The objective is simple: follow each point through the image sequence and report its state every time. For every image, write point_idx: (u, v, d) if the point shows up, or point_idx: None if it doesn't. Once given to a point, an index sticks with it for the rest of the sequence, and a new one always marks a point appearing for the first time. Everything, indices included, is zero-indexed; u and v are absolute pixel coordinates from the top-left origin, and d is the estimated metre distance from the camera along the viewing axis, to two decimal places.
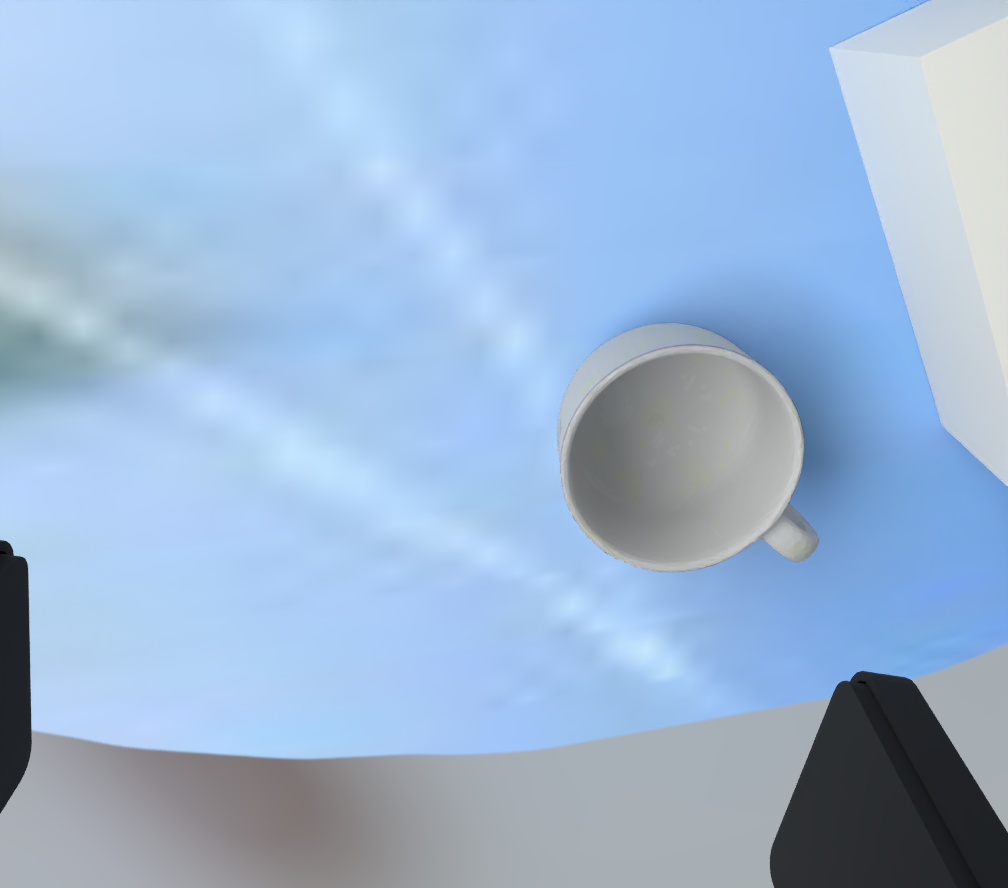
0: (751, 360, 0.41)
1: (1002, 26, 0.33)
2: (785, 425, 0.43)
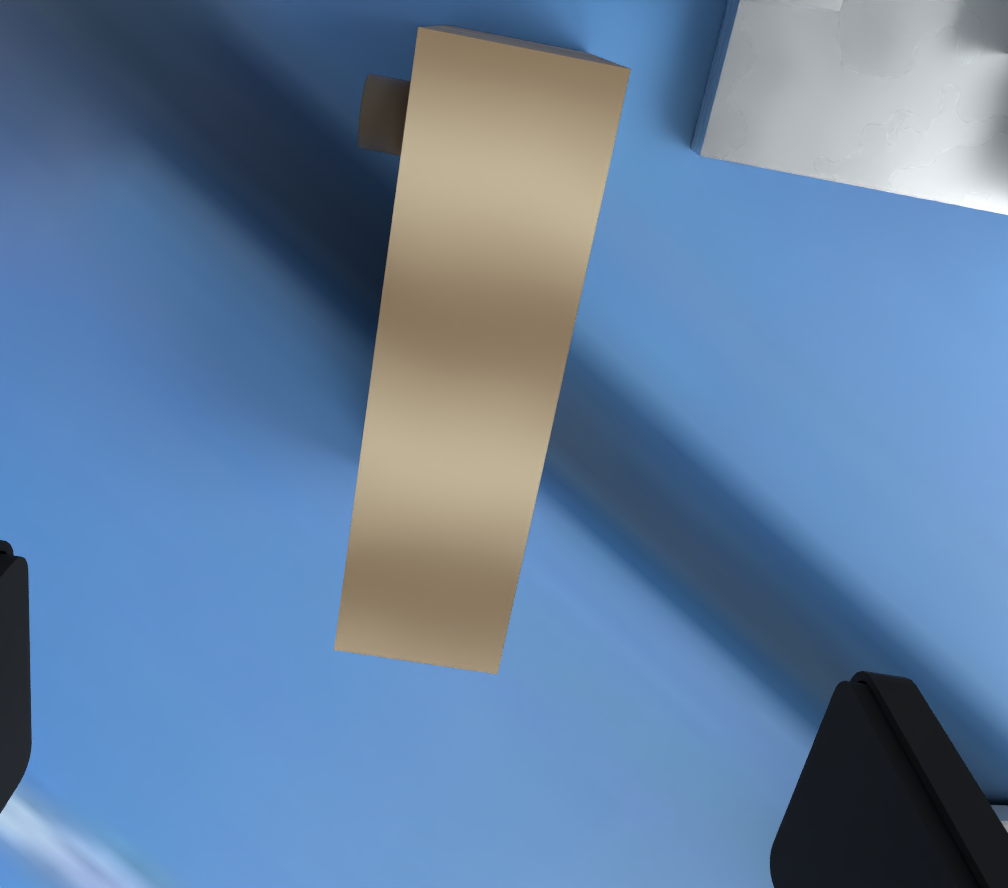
0: None
1: None
2: None
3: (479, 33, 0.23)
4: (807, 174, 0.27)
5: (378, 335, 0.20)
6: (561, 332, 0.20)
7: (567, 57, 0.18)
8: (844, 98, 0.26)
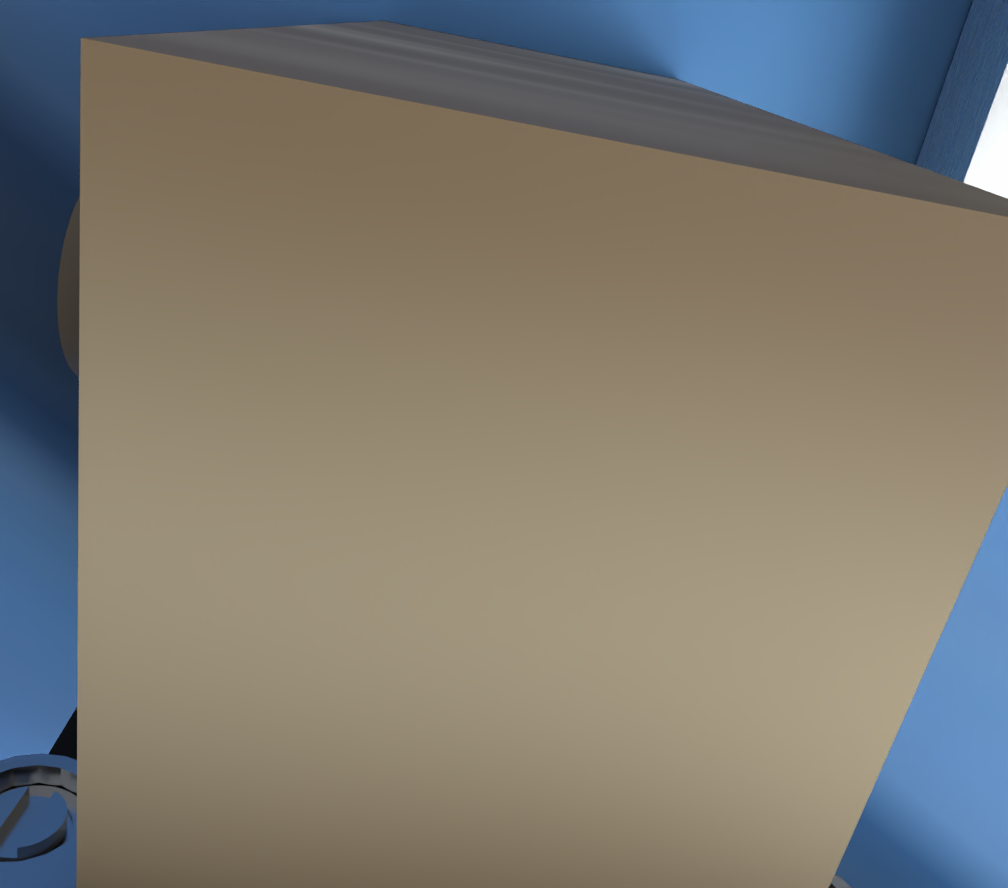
0: None
1: None
2: None
3: (443, 43, 0.09)
4: None
5: None
6: None
7: (820, 184, 0.04)
8: None
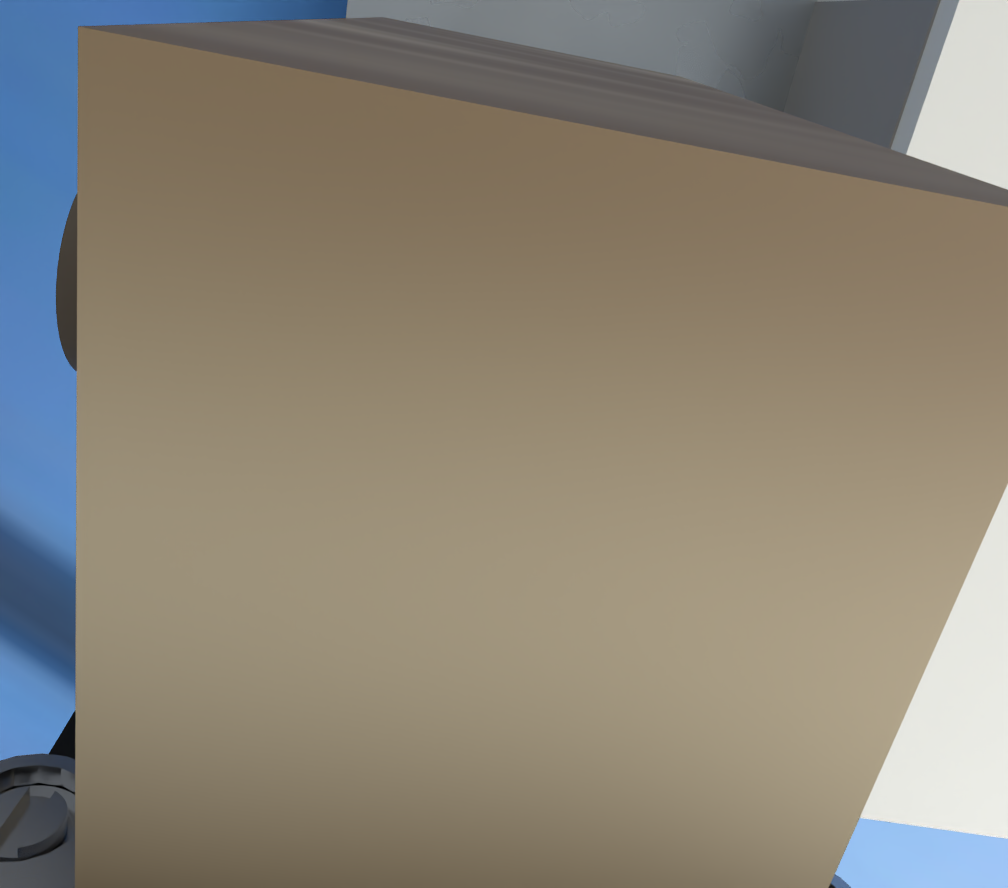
0: None
1: (914, 818, 0.25)
2: None
3: (444, 39, 0.09)
4: None
5: None
6: None
7: (822, 175, 0.04)
8: None
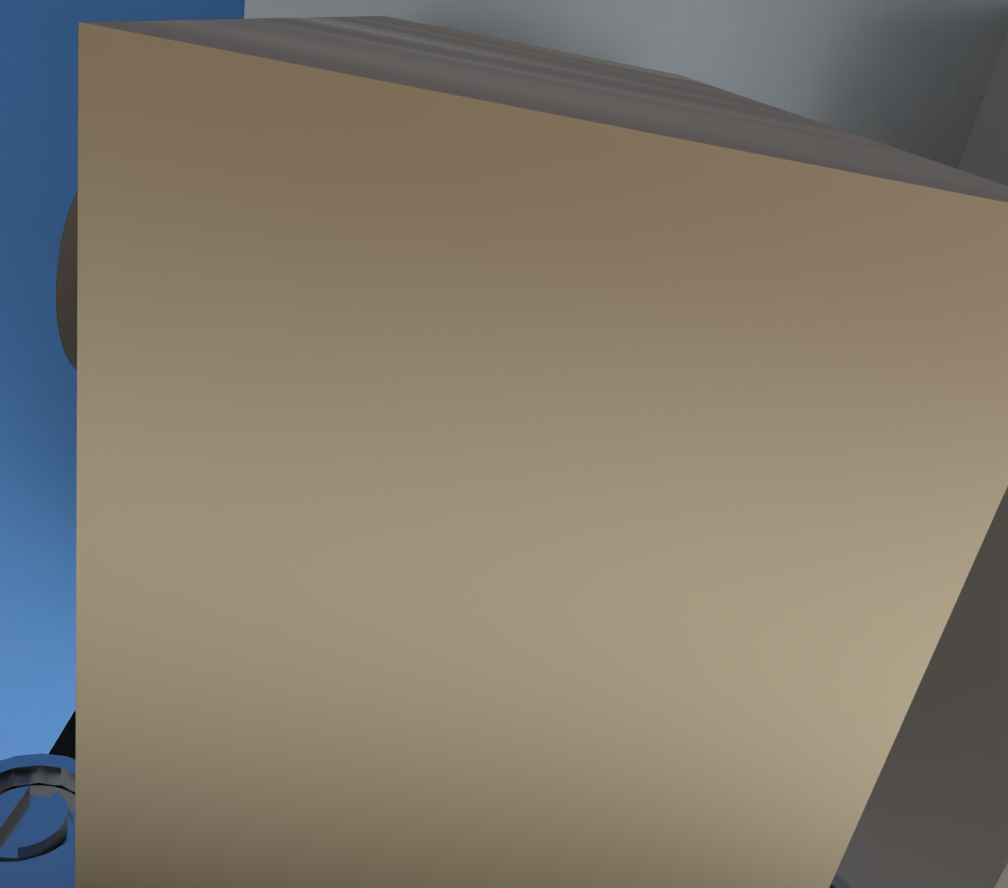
0: None
1: None
2: None
3: (444, 37, 0.09)
4: None
5: None
6: None
7: (824, 171, 0.04)
8: None
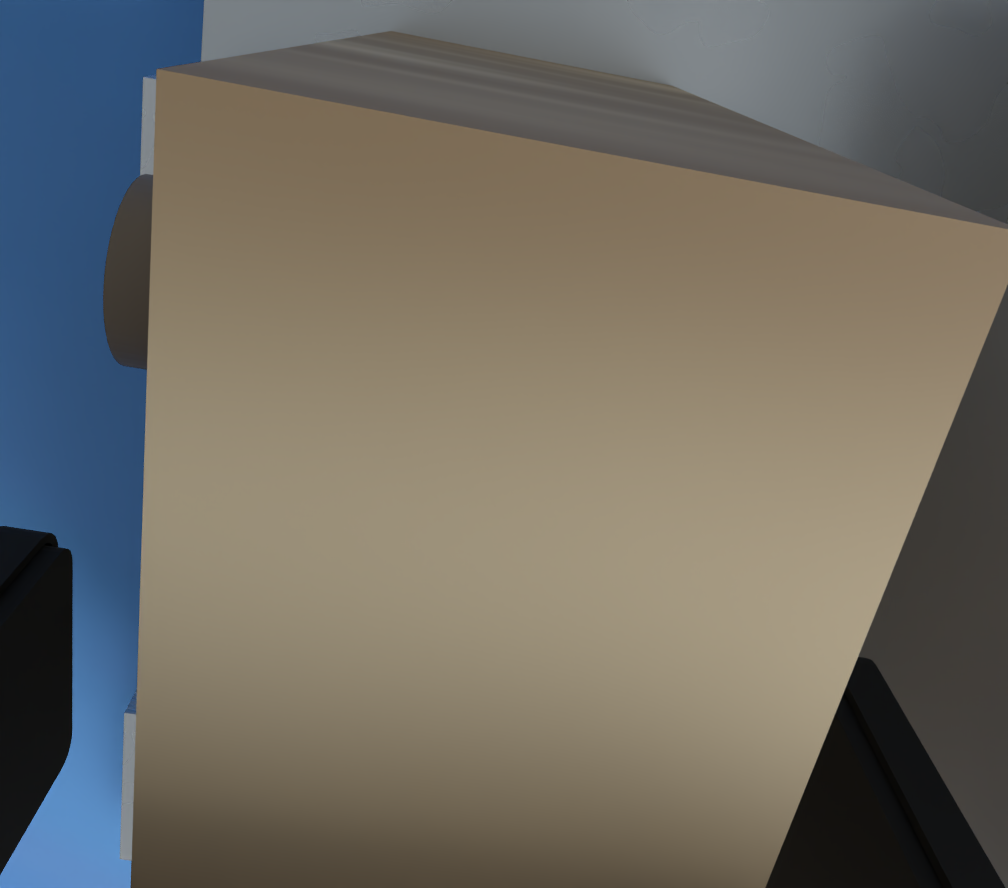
0: None
1: None
2: None
3: (450, 55, 0.10)
4: None
5: None
6: None
7: (776, 188, 0.04)
8: None
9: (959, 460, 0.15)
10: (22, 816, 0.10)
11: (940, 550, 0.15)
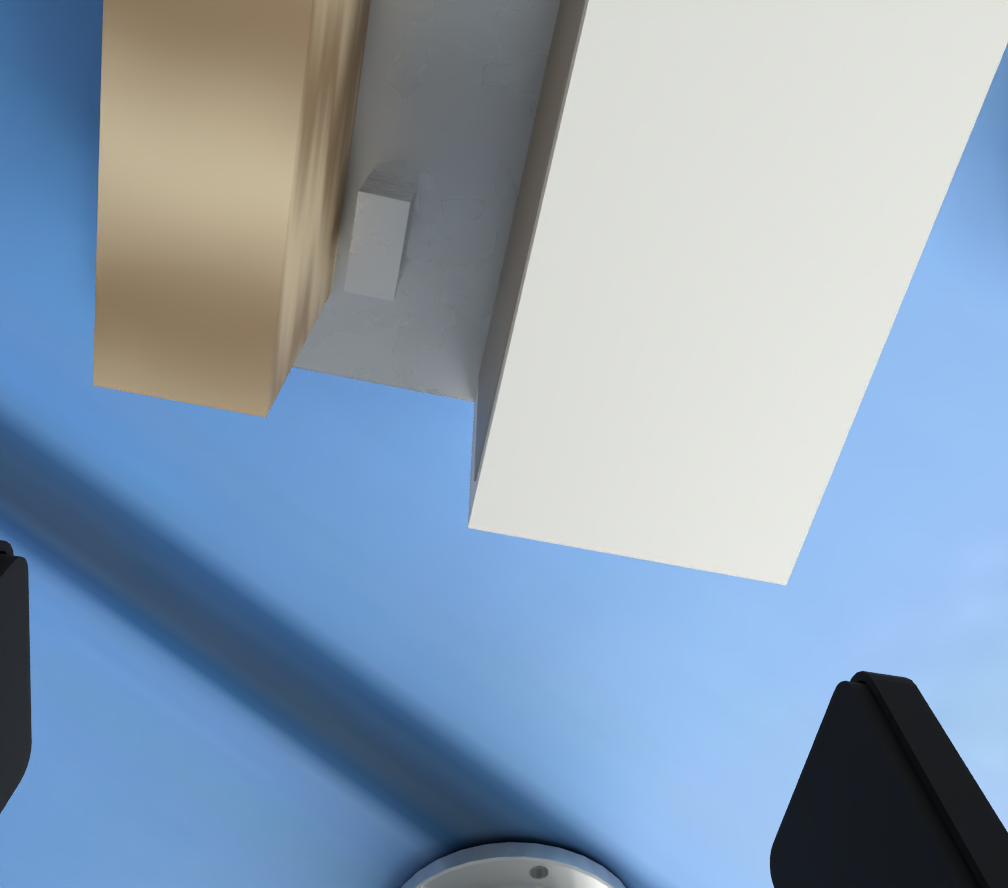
0: None
1: (690, 559, 0.26)
2: None
3: None
4: None
5: (104, 16, 0.19)
6: (298, 18, 0.19)
7: None
8: None
9: (559, 18, 0.27)
10: None
11: (550, 70, 0.27)
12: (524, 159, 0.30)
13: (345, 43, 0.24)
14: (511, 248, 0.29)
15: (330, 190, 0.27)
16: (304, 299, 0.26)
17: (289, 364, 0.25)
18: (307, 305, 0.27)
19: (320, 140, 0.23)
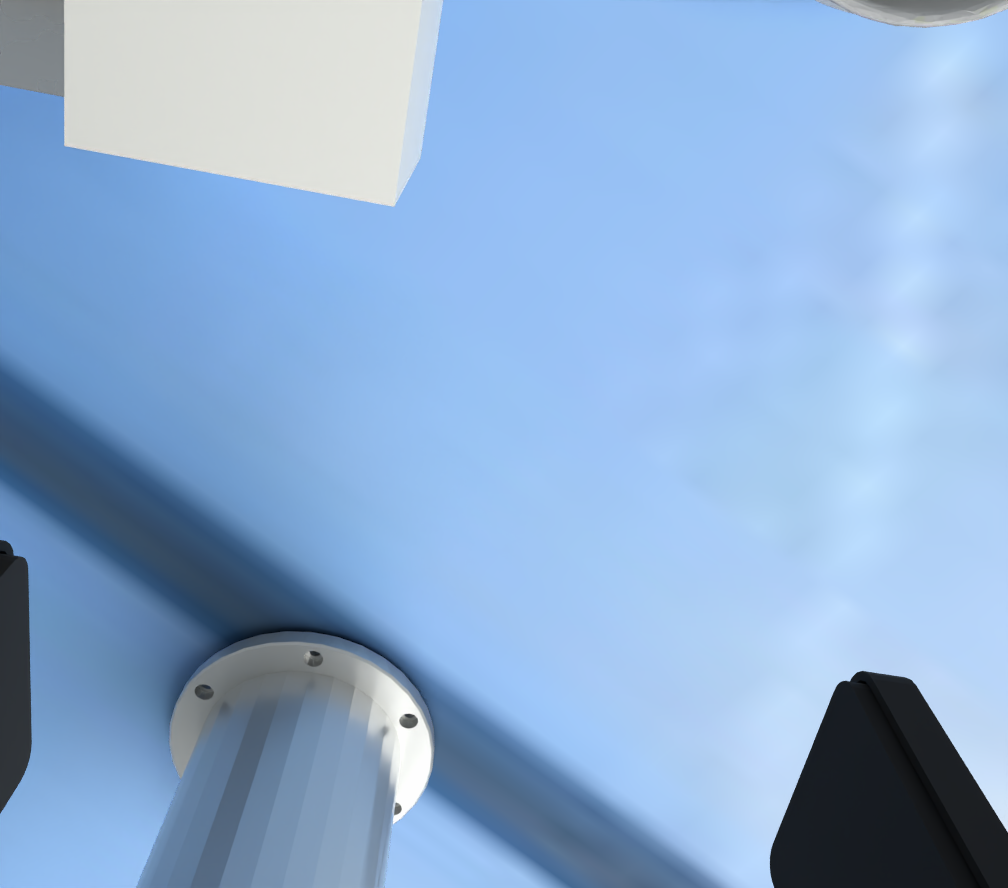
0: None
1: (292, 178, 0.26)
2: None
3: None
4: None
5: None
6: None
7: None
8: None
9: None
10: None
11: None
12: None
13: None
14: None
15: None
16: None
17: None
18: None
19: None
